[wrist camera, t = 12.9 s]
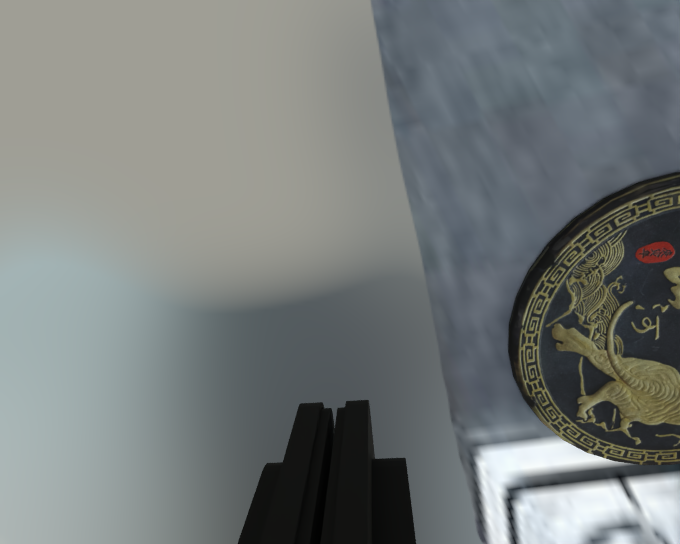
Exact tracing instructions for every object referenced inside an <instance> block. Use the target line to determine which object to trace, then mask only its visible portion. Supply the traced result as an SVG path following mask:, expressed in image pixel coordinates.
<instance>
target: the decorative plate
mask: <svg viewBox="0 0 680 544" xmlns="http://www.w3.org/2000/svg"><path fill="white" fill-rule="evenodd" d="M509 356H510V361H511V366H512V371H513V376H514V378H515V381H516V383H517V385H518V387H519V389H520V391H521V394H522V396H523V398H524V400H525V401H526V402H527V404H528V405H529V406H530V408H531V409H532V410H533V411H534V413H535V414H536V415H537V417H538V418H539V419H540V420H541V422H542V423H543V424H545V425H546V426H547V427H548V428H549V429H551V430H552V431H553V432H554V433H555V434H557V435H558V436H559V437H560V438H561V439H563V440H564V441H566V442H568V443H570V444H572V445H574V446H576V447H577V448H579V449H581V450H583V451H585V452H587V453H590V454H594V455H597V456H600V457H603V458H606V459H609V460H613V461H618V462H625V463H632V464H640V465H672V464H679V463H680V173H674V174H670V175H666V176H662V177H659V178H655V179H651V180H647V181H644V182H640V183H637V184H635V185H633V186H631V187H629V188H627V189H624V190H622V191H620V192H618V193H616V194H614V195H611V196H609V197H607V198H605V199H603V200H602V201H600V202H599V203H597V204H596V205H595V206H593V207H592V208H590V209H589V210H587V211H586V212H584V213H583V214H581V215H580V216H578V217H577V218H575V219H574V220H573V221H572V222H571V223H570V224H569V225H568V226H567V227H566V228H565V229H564V230H563V231H561V232H560V233H559V234H558V235H557V236H556V237H555V238H554V239H553V240H552V241H551V242H550V243H549V244H548V246H547V247H546V248H545V250H544V251H543V252H542V254H541V255H540V256H539V258H538V259H537V260H536V262H535V263H534V264H533V266H532V267H531V268H530V270H529V272H528V274H527V276H526V278H525V280H524V282H523V285H522V287H521V289H520V291H519V293H518V295H517V297H516V301H515V305H514V309H513V312H512V316H511V320H510V324H509Z"/></svg>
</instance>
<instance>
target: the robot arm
mask: <svg viewBox="0 0 680 544" xmlns="http://www.w3.org/2000/svg"><path fill="white" fill-rule="evenodd" d="M238 544H416V539H415V531H414V523H413V515H412V507H411V499H410V491H409V483H408V474H407V466H406V459H405V458H390V459H389V458H388V459H375V455H374V445H373V435H372V426H371V416H370V406H369V400H361V401H360V400H358V401H346V406H345V407H344V408H338V409H337V416H336V424H335V428H334V421H333V413H332V409H331V408H325V409H324V405H323V403H322V402H320V403H304V404H303V403H302V404H300V405H299V407H298V411H297V415H296V418H295V421H294V425H293V429H292V432H291V435H290V439H289V442H288V446H287V449H286V454H285V457H284V460H283V463H267V464H266V465H265V467H264V469H263V471H262V474H261V477H260V480H259V483H258V486H257V489H256V492H255V494H254V497H253V500H252V503H251V506H250V509H249V512H248V515H247V518H246V521H245V524H244V527H243V530H242V533H241V535H240V538H239V542H238Z"/></svg>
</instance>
